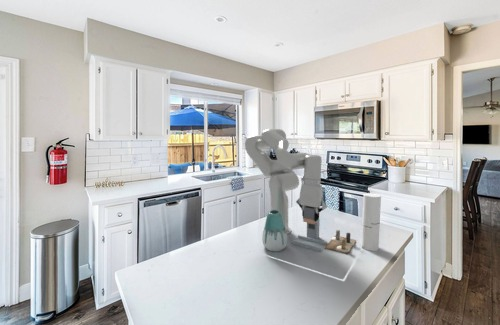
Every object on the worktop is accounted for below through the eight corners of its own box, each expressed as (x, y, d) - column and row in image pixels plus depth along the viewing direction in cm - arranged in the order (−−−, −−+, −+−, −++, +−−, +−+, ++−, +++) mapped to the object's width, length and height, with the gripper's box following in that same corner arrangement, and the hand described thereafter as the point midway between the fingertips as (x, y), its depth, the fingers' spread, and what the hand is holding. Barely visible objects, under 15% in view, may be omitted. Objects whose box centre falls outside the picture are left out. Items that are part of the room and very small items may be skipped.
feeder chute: (291, 244, 118) (291, 240, 118) (298, 238, 125) (298, 235, 124) (321, 252, 110) (321, 248, 109) (327, 246, 116) (327, 242, 116)
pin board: (323, 249, 113) (324, 237, 112) (334, 237, 126) (334, 226, 125) (348, 255, 107) (348, 243, 106) (356, 242, 120) (357, 231, 119)
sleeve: (303, 221, 115) (303, 207, 114) (307, 218, 119) (308, 204, 118) (313, 224, 112) (314, 209, 111) (317, 220, 116) (318, 206, 115)
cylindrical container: (380, 251, 110) (383, 197, 107) (363, 250, 112) (365, 196, 109) (375, 244, 117) (378, 193, 114) (359, 243, 119) (361, 192, 116)
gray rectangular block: (306, 238, 125) (306, 219, 123) (309, 235, 128) (310, 217, 127) (316, 241, 122) (316, 221, 120) (319, 238, 125) (319, 219, 124)
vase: (277, 257, 106) (277, 217, 104) (257, 249, 114) (256, 211, 112) (292, 247, 115) (292, 210, 113) (272, 240, 123) (272, 206, 121)
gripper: (291, 180, 115) (290, 217, 118) (327, 185, 105) (325, 226, 108) (298, 178, 121) (297, 213, 124) (333, 182, 111) (331, 221, 114)
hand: (310, 219), depth 116 cm, fingers closed on sleeve, 5 cm apart
